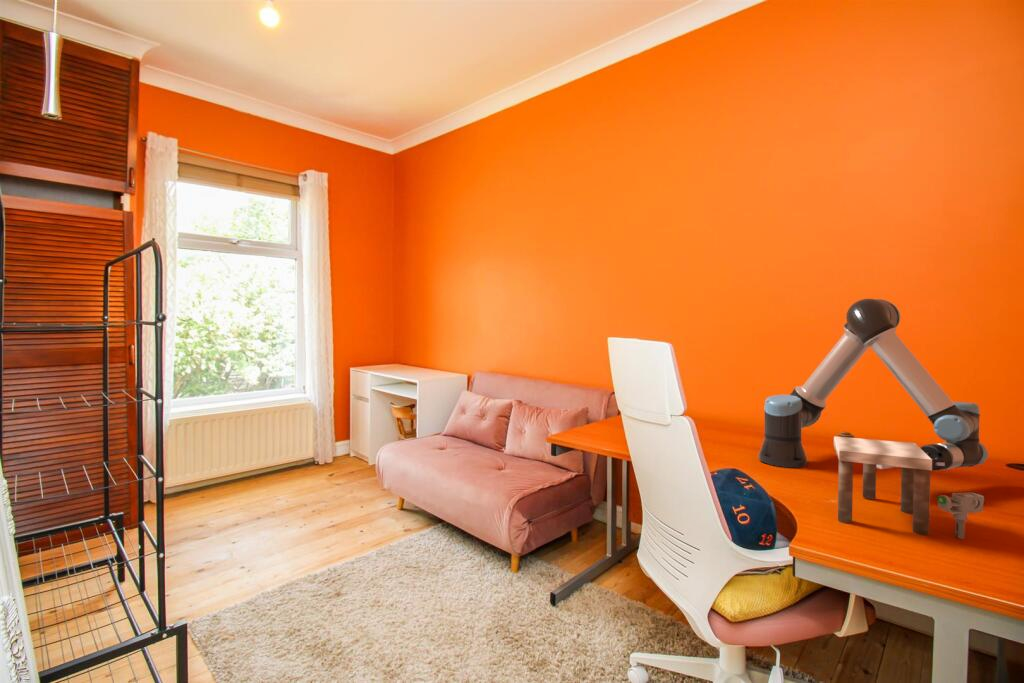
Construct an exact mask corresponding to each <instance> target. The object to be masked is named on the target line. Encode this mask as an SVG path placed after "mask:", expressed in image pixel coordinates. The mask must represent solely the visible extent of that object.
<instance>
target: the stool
mask: <svg viewBox="0 0 1024 683" xmlns="http://www.w3.org/2000/svg"><path fill="white" fill-rule="evenodd" d="M834 447H835V450H836V452H835V453H836V456H837V458H838V474H837V475H838V479H837V480H838V482H837V484H838V486H837V488H838V489H837V491H838V492H837V521H838V522H840V523H843V524H852V523H853V500H854V499H853V495H854V494H853V493H854V492H853V491H854V490H853V485H854V463H859V464H863V463H867V464H876V466H877V465H886V466H895V467H894V468H900V470H901V471H900V472H901V474H900V512H901V513H903V512H904V514H907V513H908V514H909V515H912V533H914V534H916V535H919V536H929V535H930V509H931V508H930V502H931V471H933V470H932V459H931V458H930V457H929V456H928V455H927V454H926V453H925V452H924V451H923V450H922V449H921V446H919V445H917V443H915V442H904V441H903V442H902V441H893V440H883V439H882V440H881V439H869V438H859V437H858V438H856V437H855V438H848V437H837V435H836V436H833V448H834ZM835 450H834V451H835ZM908 514H907V515H908Z"/></svg>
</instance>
